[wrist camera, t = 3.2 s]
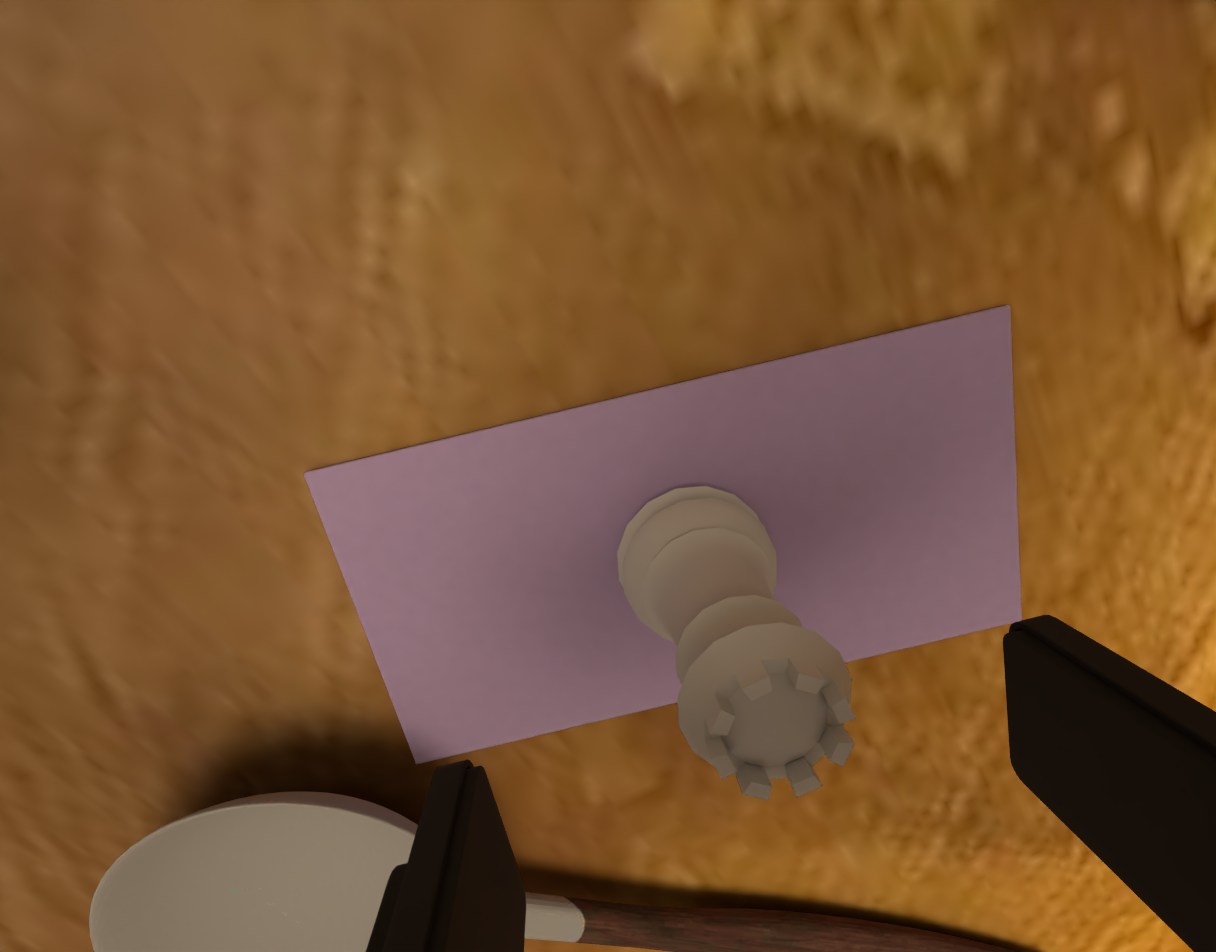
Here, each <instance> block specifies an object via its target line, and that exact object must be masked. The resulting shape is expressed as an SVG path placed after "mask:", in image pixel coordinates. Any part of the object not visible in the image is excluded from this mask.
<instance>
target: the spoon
mask: <svg viewBox="0 0 1216 952" xmlns="http://www.w3.org/2000/svg"><path fill="white" fill-rule="evenodd" d="M417 827H418V825H417V824H416V823H414V822H412V821H411V820H409V819H407V818H405V817H404V816H402V815H400V814H398V813H396V812H394V811H392V810H390V809H388V808H385V807H383V806H380V805H377V804H375V803H372V802H369V801H366V800H362V799H358V798H355V797H350V796H345V795H340V794H333V793H324V792H277V793H268V794H261V795H254V796H249V797H244V798H240V799H235V800H232V801H228V802H224V803H221V804H217V805H214V806H211V807H208V808H205V809H202V810H199V811H197V812H194V813H191V814H189V815H186V816H184V817H181V818H179V819H177V820H174V821H172V822H170V823H168V824H166V825H164V826H162V827H160V828H158V829H156V830H154V831H153V832H151V833H149V834H148V835H146V836H145V837H143V838H142V839H140V840H139V841H138V842H136V843H135V844H133V845H132V846H131V847H130V848H128V849H127V850H126V851H125V852H124V853H123V854H122V855H121V856H120V857H119V858H118V859H117V860H116V861H115V862H114V863H113V864H112V865H111V867H110V868H109V869H108V870H107V872H106V873H105V875H104V876H103V877H102V879H101V881H100V883H99V885H98V887H97V889H96V891H95V894H94V896H93V899H92V903H91V909H90V917H89V927H90V938H91V941H92V945H93V949H94V952H366V949H367V946H368V943H369V940H370V936H371V933H372V930H373V927H374V924H375V920H376V917H377V914H378V911H379V908H380V904H381V901H382V898H383V895H384V892H385V888H386V885H387V882H388V879H389V877H390V875H391V872H392V870H393V869H394V868H395V867H396V866H397V865H401V864H405V863H407V862H408V859H409V855H410V852H411V848H412V845H413V841H414V838H415V834H416V831H417ZM525 896H526V921H525V938H529V939H541V940H553V941H565V942H576V943H588V944H600V945H611V946H623V947H635V948H646V949H654V950H663V951H672V952H1016V951H1012V950H1008V949H1005V948H1001V947H998V946H994V945H989V944H985V943H981V942H977V941H973V940H968V939H964V938H960V937H956V936H951V935H947V934H942V933H937V932H932V931H926V930H921V929H916V928H911V927H906V926H900V925H894V924H887V923H881V922H875V921H868V920H862V919H855V918H847V917H838V916H829V915H820V914H811V913H802V912H793V911H781V910H763V909H746V908H669V907H652V906H640V905H630V904H620V903H610V902H602V901H594V900H586V899H578V898H570V897H563V896H555V895H547V894H539V893H531V892H525Z"/></svg>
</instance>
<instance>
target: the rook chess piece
mask: <svg viewBox="0 0 1216 952" xmlns="http://www.w3.org/2000/svg"><path fill="white" fill-rule="evenodd" d="M617 558H618V571H619V581H620V583H621V585H622V586H623V588H624V594H625V596H626V598H627V599H628V601H629V603H630V605H631V607H632V609H633V610H634V612H635V614H636V616H637V618H638V619H639V620H640V621H641V622H642V623H644V624H645V625H646V626H648V627H649V628H650V629H652V630H653V631H654V632H656V633H657V634H658V635H659V636H661V637H662V638H663V639H667V640H670V641H672V642H673V643H675V644H676V646H677V649H676V651H675V654H676V675H677V677H678V679H679V680H680V682H681V684H682V686H681V689H680V691H679V694H678V696H677V698H678V720H679V727H680V729H681V731H682V733H683V735H684V736H685V738H686V740H687V742H688V744H689V745H690V747H691V749H692V751H693V752H694V753H696V754H697V755H698V756H700V757H701V758H703V759H704V760H705V761H707V762H708V763H710V764H711V765H712V766H714V767H715V768H716V769H717V771H718V773H719V775H720V776H721V778H722V780H723V779H725V778H726V777H728V776H729V775H731V774H736V777H737V780H738V783H739V785H740V788H741V791H742V794H743V795H747V796H752V797H756V798H760V799H765V800H769V797H770V793H771V789H772V786H771V783H770V781H769V779H778V778H788V780H789V782H790V784H791V786H792V789H793V791H794V793H795V795H796V797H799V796H801V795H803V794H805V793H808V792H810V791H812V790H814V789H816V788H819V787H821V786H822V784H821V782H820V780H819V778H818V776H817V774H816V772H815V771H814V769H813V767H812V766H813V765H814V764H815V763H816V762H817V761H818V760H819V759H820V758H822V757H823V756H824V755H825V754H826V755H827V757H828V759H829V761H831V762H834V763H836V764H838V765H840V766H842V767H843V766H844V764H845V762H846V760H847V758H848V756H849V754H850V752H851V750H852V748H853V746H854V744H855V743H854V742H853V740H852V739H851V737H850V736H849V734H848V733H847V731H846V730H845V728H844V726H843V724H844V722H847V721H851V720H854V719H856V718H855V716H854V713H853V711H852V709H851V707H850V701H851V676H850V674H849V672H848V669H847V667H846V665H845V663H844V660H843V658H842V656H841V654H840V651H838V650H837V649H836V648H835V647H834V646H832V645H831V644H830V643H829V642H828V641H826V640H825V639H824V638H823V637H822V636H820V635H819V634H818V633H817V632H815V631H812V630H808V629H805V628H803V627H802V625H801V622H800V620H799V618H798V617H797V616H796V615H795V614H794V613H792V612H791V611H790V610H789V609H787V608H786V607H785V606H784V605H783V604H781V603H780V602H778V601H775V600H774V597H773V596H774V589H775V587H776V566H777V557H776V551H775V549H774V547H773V544H772V542H771V540H770V538H769V535H768V533H767V531H766V529H765V527H764V525H763V524H762V523H760V520H759V518H758V516H757V514H756V513H755V512H754V511H753V510H752V509H751V508H749V507H748V506H747V505H746V504H745V503H744V502H743V501H741V500H740V499H739V498H738V497H737V496H736V495H734V494H731V493H727V492H724V491H721V490H718V489H714V488H711V487H708V486H700V487H688V488H677V489H674V490H672V491H670V492H668V493H666V494H664V495H661V496H659V497H657V498H655V499H653V500H651V501H649V502H647V503H646V505H645V506H644V507H643V508H642V509H641V510H640V511H639V512H638V513H637V514H636V516H635V517H634V518H633V519H632V520H631V521H630V522H629V523H628V524H627V526H626V529H625V532H624V535H623V537H622V540H621V543H620V546H619V549H618V551H617Z"/></svg>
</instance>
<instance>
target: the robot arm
mask: <svg viewBox="0 0 1216 952" xmlns="http://www.w3.org/2000/svg"><path fill="white" fill-rule="evenodd" d="M1003 650H1004V666H1005V682H1006V698H1007V714H1008V730H1009V746H1010V759H1011V763H1012V766H1013V768H1014V770H1015V772H1016V774H1017V776H1018V777H1019V779H1020V780H1021V781H1022V782H1023V783H1024V784H1025V785H1026V786H1027V787H1028V788H1029V789H1030V790H1031V791H1032V792H1033V793H1034V794H1035V795H1036V796H1037V797H1038V798H1039V799H1040V800H1041V801H1042V802H1043V803H1044V804H1045V805H1046V806H1047V807H1048V808H1049V809H1050V810H1051V811H1052V812H1053V813H1054V814H1055V815H1056V816H1057V817H1058V818H1059V819H1060V820H1061V821H1062V822H1063V823H1064V824H1065V825H1066V826H1067V827H1068V828H1069V829H1070V830H1071V831H1072V832H1073V833H1074V834H1075V835H1076V836H1077V837H1078V838H1080V839H1081V840H1082V841H1083V842H1084V843H1085V844H1086V845H1087V846H1088V847H1089V848H1090V849H1091V850H1092V851H1093V852H1094V853H1095V854H1096V855H1097V856H1098V857H1099V858H1100V859H1101V860H1102V861H1103V862H1104V863H1105V864H1106V865H1107V866H1108V867H1109V868H1110V869H1111V870H1112V871H1113V872H1114V873H1115V874H1116V875H1117V876H1118V877H1119V878H1120V879H1121V880H1122V881H1123V882H1124V883H1125V884H1126V885H1127V886H1128V887H1129V888H1130V889H1131V890H1132V891H1133V892H1134V893H1135V894H1136V895H1137V896H1138V897H1139V898H1140V899H1141V900H1142V901H1143V902H1144V903H1145V904H1146V905H1147V906H1148V907H1149V908H1150V909H1151V910H1152V911H1153V912H1154V913H1155V914H1157V915H1158V916H1159V917H1160V918H1161V919H1162V920H1163V921H1164V922H1165V923H1166V924H1167V925H1168V926H1169V927H1170V928H1171V929H1172V930H1173V931H1174V932H1175V933H1176V934H1177V935H1178V936H1179V937H1180V938H1181V939H1182V940H1183V941H1184V942H1185V943H1186V944H1187V945H1188V946H1189V947H1190V948H1191V949H1192V950H1193V951H1194V952H1216V712H1215V711H1213V710H1212V709H1210V708H1208V707H1206V706H1205V705H1203V704H1201V703H1200V702H1198V701H1196V700H1195V699H1193V698H1191V697H1189V696H1188V695H1186V694H1184V693H1183V692H1181V691H1179V690H1178V689H1176V688H1174V687H1172V686H1171V685H1169V684H1167V683H1166V682H1164V681H1162V680H1161V679H1159V678H1157V677H1155V676H1154V675H1152V674H1150V673H1149V672H1147V671H1145V670H1144V669H1142V668H1140V667H1138V666H1137V665H1135V664H1133V663H1132V662H1130V661H1128V660H1127V659H1125V658H1123V657H1121V656H1120V655H1118V654H1116V653H1115V652H1113V651H1111V650H1110V649H1108V648H1106V647H1105V646H1103V645H1101V644H1099V643H1098V642H1096V641H1094V640H1093V639H1091V638H1089V637H1088V636H1086V635H1084V634H1082V633H1081V632H1079V631H1077V630H1076V629H1074V628H1072V627H1071V626H1069V625H1067V624H1065V623H1064V622H1062V621H1060V620H1059V619H1057V618H1055V617H1053V616H1050V615H1042V616H1038V617H1034V618H1030V619H1026V620H1022V621H1018V622H1015V623H1013V624H1011V626H1010V628H1009V633H1007V634H1005V636H1004V638H1003ZM525 921H526V896H525V889H524V885H523V881H522V878H521V875H520V872H519V869H518V866H517V864H516V861H515V858H514V855H513V852H512V849H511V846H510V843H509V840H508V837H507V834H506V831H505V828H504V825H503V822H502V819H501V817H500V814H499V811H498V808H497V805H496V802H495V799H494V796H493V793H492V790H491V787H490V784H489V781H488V778H487V775H486V773H485V770H484V768H483V767H482V766H477V767H473V765H472V763H471V762H470V760H464V761H460V762H456V763H452V764H448V765H444V766H440V767H437V768H436V769H435V770H434V772H433V775H432V779H431V782H430V786H429V789H428V792H427V796H426V799H425V803H424V806H423V810H422V813H421V817H420V820H419V824H418V827H417V831H416V834H415V838H414V841H413V845H412V848H411V852H410V855H409V859H408V862H407V863H405V864H401V865H397V866H396V867H395V868H394V869H393V870H392V872H391V875H390V877H389V879H388V882H387V885H386V888H385V892H384V895H383V898H382V901H381V904H380V908H379V911H378V914H377V917H376V920H375V924H374V927H373V930H372V933H371V936H370V940H369V943H368V946H367V949H366V952H524V938H525Z"/></svg>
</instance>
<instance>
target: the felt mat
mask: <svg viewBox="0 0 1216 952" xmlns="http://www.w3.org/2000/svg"><path fill="white" fill-rule="evenodd" d="M303 474H304V476H305V479H306V482H307V484H308V487H309V489H310V492H311V494H312V497H313V500H314V502H315V505H316V507H317V510H318V513H319V515H320V518H321V520H322V523H323V525H324V528H325V531H326V533H327V536H328V538H329V541H330V543H331V546H332V549H333V551H334V554H335V556H336V559H337V561H338V564H339V567H340V569H341V572H342V574H343V577H344V580H345V582H346V585H347V587H348V590H349V592H350V595H351V598H352V600H353V603H354V605H355V608H356V610H357V613H358V616H359V618H360V621H361V623H362V626H363V629H364V631H365V634H366V636H367V639H368V641H369V644H370V647H371V649H372V652H373V654H374V657H375V659H376V662H377V665H378V667H379V670H380V672H381V675H382V677H383V680H384V683H385V685H386V688H387V690H388V693H389V696H390V698H391V701H392V703H393V706H394V708H395V711H396V714H397V716H398V719H399V721H400V724H401V726H402V729H403V732H404V734H405V737H406V739H407V742H408V745H409V747H410V750H411V752H412V755H413V757H414V760H415V763H416V764H420V763H424V762H428V761H432V760H436V759H441V758H445V757H449V756H453V755H458V754H462V753H466V752H470V751H474V750H479V749H483V748H487V747H491V746H496V745H500V744H504V743H508V742H512V741H517V740H521V739H525V738H529V737H534V736H538V735H542V734H546V733H550V732H555V731H559V730H563V729H567V728H572V727H576V726H580V725H584V724H588V723H593V722H597V721H601V720H605V719H610V718H614V717H618V716H622V715H626V714H631V713H635V712H639V711H643V710H647V709H652V708H656V707H660V706H664V705H669V704H673V703H677V702H678V698H677V696H678V694H679V691H680V689H681V686H682V684H681V682H680V680H679V679H678V677H677V675H676V654H675V651H676V649H677V646H676V644H675V643H673V642H672V641H670V640H667V639H663V638H662V637H661V636H659V635H658V634H657V633H656V632H654V631H653V630H652V629H650V628H649V627H648V626H646V625H645V624H644V623H642V622H641V621H640V620H639V619H638V618H637V616H636V614H635V612H634V610H633V609H632V607H631V605H630V603H629V601H628V599H627V598H626V596H625V594H624V588H623V586H622V585H621V583H620V581H619V571H618V558H617V551H618V549H619V546H620V543H621V540H622V537H623V535H624V532H625V529H626V526H627V524H628V523H629V522H630V521H631V520H632V519H633V518H634V517H635V516H636V514H637V513H638V512H639V511H640V510H641V509H642V508H643V507H644V506H645V505H646V503H647V502H649V501H651V500H653V499H655V498H657V497H659V496H661V495H664V494H666V493H668V492H670V491H672V490H674V489H677V488H688V487H700V486H708V487H711V488H714V489H718V490H721V491H724V492H727V493H731V494H734V495H736V496H737V497H738V498H739V499H740V500H741V501H743V502H744V503H745V504H746V505H747V506H748V507H749V508H751V509H752V510H753V511H754V512H755V513H756V514H757V516H758V518H759V520H760V523H762V524H763V525H764V527H765V529H766V531H767V533H768V535H769V538H770V540H771V542H772V544H773V547H774V549H775V551H776V557H777V566H776V587H775V589H774V596H773V597H774V600H775V601H778V602H780V603H781V604H783V605H784V606H785V607H786V608H787V609H789V610H790V611H791V612H792V613H794V614H795V615H796V616H797V617H798V618H799V620H800V622H801V625H802V627H803V628H805V629H808V630H812V631H815V632H817V633H818V634H819V635H820V636H822V637H823V638H824V639H825V640H826V641H828V642H829V643H830V644H831V645H832V646H834V647H835V648H836V649H837V650H838V651H840V654H841V656H842V658H843V660H844V663H846V662H850V661H854V660H858V659H863V658H867V657H871V656H875V655H880V654H884V653H888V652H892V651H896V650H901V649H905V648H909V647H913V646H918V645H922V644H926V643H930V642H934V641H939V640H943V639H947V638H951V637H956V636H960V635H964V634H968V633H972V632H977V631H981V630H985V629H989V628H994V627H998V626H1002V625H1006V624H1010V623H1015V622H1018V621H1022V613H1021V586H1020V559H1019V532H1018V505H1017V478H1016V450H1015V423H1014V396H1013V369H1012V342H1011V315H1010V305H1003V306H999V307H995V308H991V309H986V310H982V311H978V312H974V313H970V314H965V315H961V316H957V317H953V318H949V319H944V320H940V321H936V322H932V323H928V324H923V325H919V326H915V327H911V328H906V329H902V330H898V331H894V332H890V333H885V334H881V335H877V336H873V337H869V338H864V339H860V340H856V341H852V342H848V343H843V344H839V345H835V346H831V347H827V348H822V349H818V350H814V351H810V352H806V353H801V354H797V355H793V356H789V357H785V358H780V359H776V360H772V361H768V362H764V363H759V364H755V365H751V366H747V367H743V368H738V369H734V370H730V371H726V372H722V373H717V374H713V375H709V376H705V377H701V378H696V379H692V380H688V381H684V382H680V383H675V384H671V385H667V386H663V387H659V388H654V389H650V390H646V391H642V392H638V393H633V394H629V395H625V396H621V397H617V398H612V399H608V400H604V401H600V402H596V403H591V404H587V405H583V406H579V407H574V408H570V409H566V410H562V411H558V412H553V413H549V414H545V415H541V416H537V417H532V418H528V419H524V420H520V421H516V422H511V423H507V424H503V425H499V426H495V427H490V428H486V429H482V430H478V431H474V432H469V433H465V434H461V435H457V436H453V437H448V438H444V439H440V440H436V441H432V442H427V443H423V444H419V445H415V446H411V447H406V448H402V449H398V450H394V451H390V452H385V453H381V454H377V455H373V456H369V457H364V458H360V459H356V460H352V461H348V462H343V463H339V464H335V465H331V466H327V467H322V468H318V469H314V470H310V471H306V472H304V473H303Z"/></svg>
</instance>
